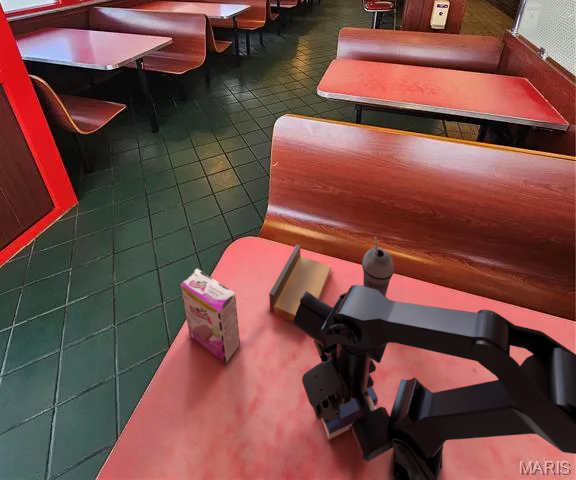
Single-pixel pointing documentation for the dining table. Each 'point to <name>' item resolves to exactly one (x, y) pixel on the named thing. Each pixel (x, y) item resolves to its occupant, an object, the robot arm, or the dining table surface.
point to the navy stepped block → (347, 416)
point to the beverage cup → (377, 269)
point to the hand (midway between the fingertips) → (348, 409)
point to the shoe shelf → (297, 284)
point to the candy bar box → (211, 314)
